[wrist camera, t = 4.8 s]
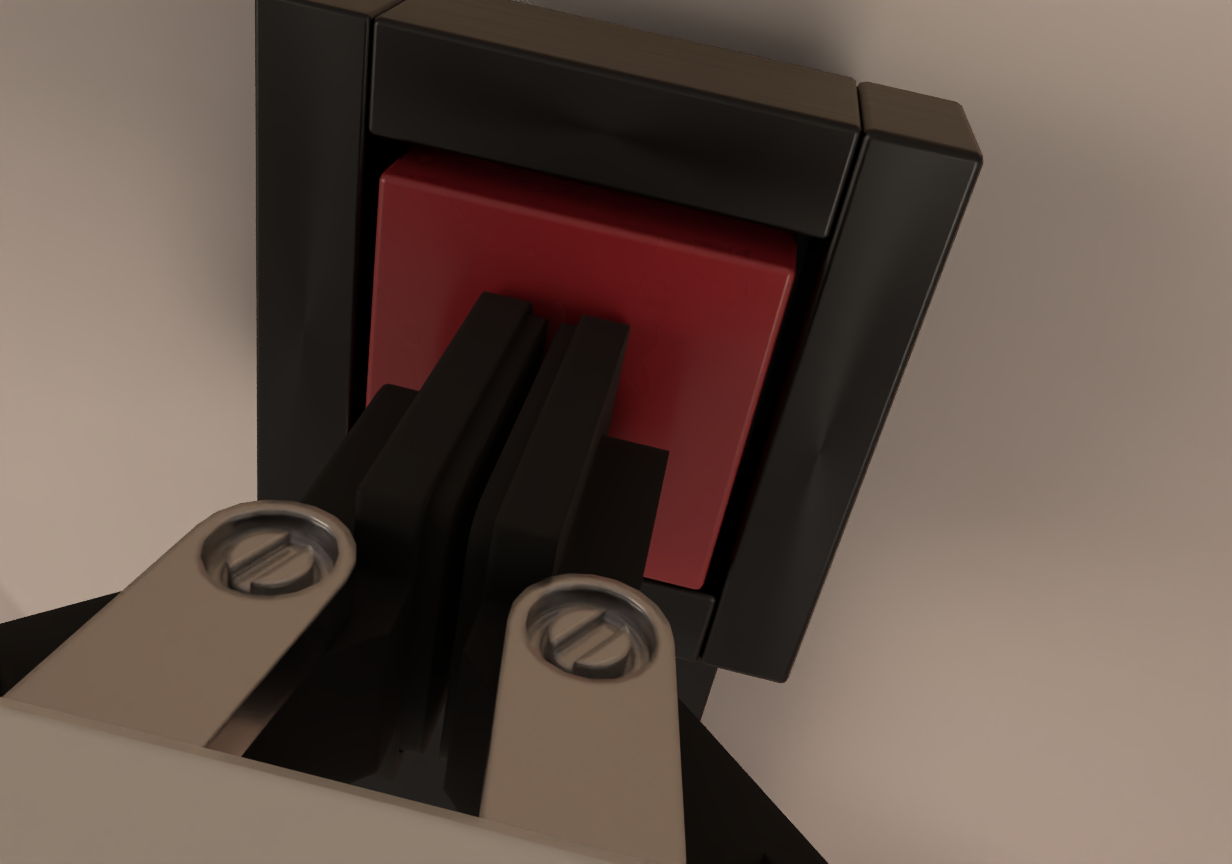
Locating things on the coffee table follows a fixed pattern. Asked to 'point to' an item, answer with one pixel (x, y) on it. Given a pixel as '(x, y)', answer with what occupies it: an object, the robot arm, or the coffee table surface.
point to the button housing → (632, 164)
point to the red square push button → (594, 311)
